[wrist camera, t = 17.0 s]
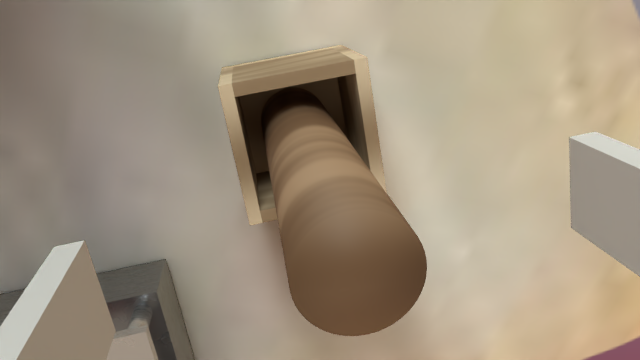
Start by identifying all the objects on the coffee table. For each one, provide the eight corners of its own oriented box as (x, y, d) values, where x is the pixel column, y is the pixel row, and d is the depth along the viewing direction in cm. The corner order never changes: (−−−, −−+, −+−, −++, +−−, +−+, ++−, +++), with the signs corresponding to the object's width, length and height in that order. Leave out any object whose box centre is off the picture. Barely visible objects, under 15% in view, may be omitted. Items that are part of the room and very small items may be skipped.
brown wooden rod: (254, 94, 31) (276, 227, 14) (320, 81, 31) (418, 196, 14) (268, 157, 32) (302, 349, 15) (331, 144, 32) (433, 318, 15)
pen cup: (222, 67, 31) (217, 86, 25) (341, 44, 32) (367, 57, 25) (247, 181, 33) (250, 225, 27) (358, 158, 34) (386, 196, 27)
